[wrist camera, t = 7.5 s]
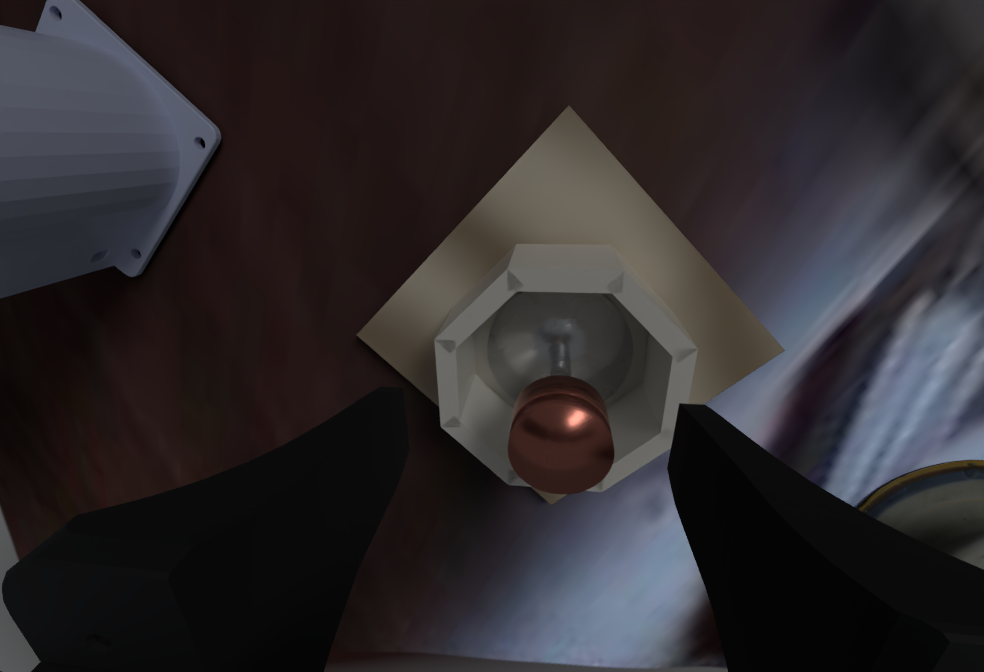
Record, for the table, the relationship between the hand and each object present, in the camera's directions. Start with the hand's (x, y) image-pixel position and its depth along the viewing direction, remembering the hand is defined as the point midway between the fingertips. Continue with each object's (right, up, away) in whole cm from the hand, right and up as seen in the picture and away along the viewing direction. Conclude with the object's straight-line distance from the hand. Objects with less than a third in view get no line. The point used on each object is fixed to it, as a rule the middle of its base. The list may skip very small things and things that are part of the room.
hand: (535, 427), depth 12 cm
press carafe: (+2, +2, +10) cm, 10 cm away
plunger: (+2, +2, +9) cm, 9 cm away
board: (+2, +2, +10) cm, 10 cm away
